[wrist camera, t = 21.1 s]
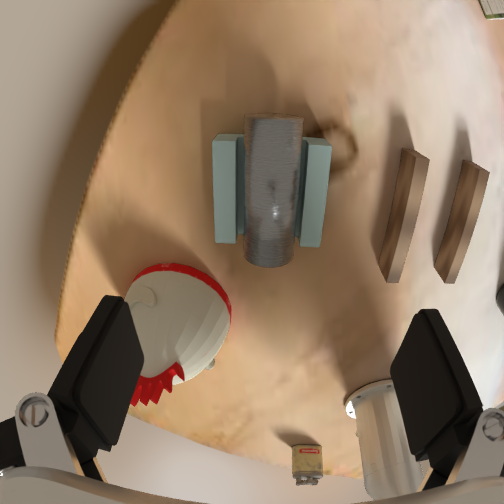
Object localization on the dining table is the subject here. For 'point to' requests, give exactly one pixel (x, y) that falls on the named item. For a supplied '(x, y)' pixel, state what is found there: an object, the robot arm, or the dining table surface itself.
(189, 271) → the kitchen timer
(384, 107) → the dining table surface
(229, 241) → the cradle
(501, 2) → the syrup box
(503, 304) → the supplement bottle
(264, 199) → the grey cylinder
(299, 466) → the jerry can
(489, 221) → the dining table surface
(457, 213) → the wooden blocks
